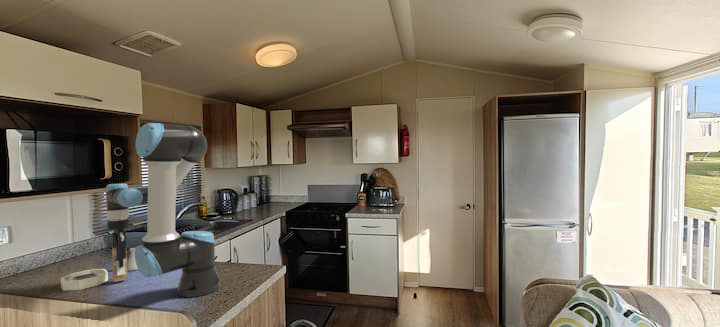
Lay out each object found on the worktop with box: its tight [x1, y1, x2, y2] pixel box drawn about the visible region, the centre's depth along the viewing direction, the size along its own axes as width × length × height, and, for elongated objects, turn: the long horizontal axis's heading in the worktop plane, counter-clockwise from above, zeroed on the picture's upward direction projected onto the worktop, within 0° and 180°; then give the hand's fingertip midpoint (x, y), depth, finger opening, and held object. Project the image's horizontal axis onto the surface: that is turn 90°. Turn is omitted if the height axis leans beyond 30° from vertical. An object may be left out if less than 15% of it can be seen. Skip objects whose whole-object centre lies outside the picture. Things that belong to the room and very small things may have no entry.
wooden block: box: [111, 247, 128, 283], centre depth 138 cm, size 2×4×14 cm, turn 139°
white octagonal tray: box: [60, 268, 109, 292], centre depth 137 cm, size 15×15×4 cm
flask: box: [127, 247, 139, 272], centre depth 155 cm, size 7×7×10 cm
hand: (119, 273), depth 138 cm, fingers closed on wooden block, 2 cm apart
